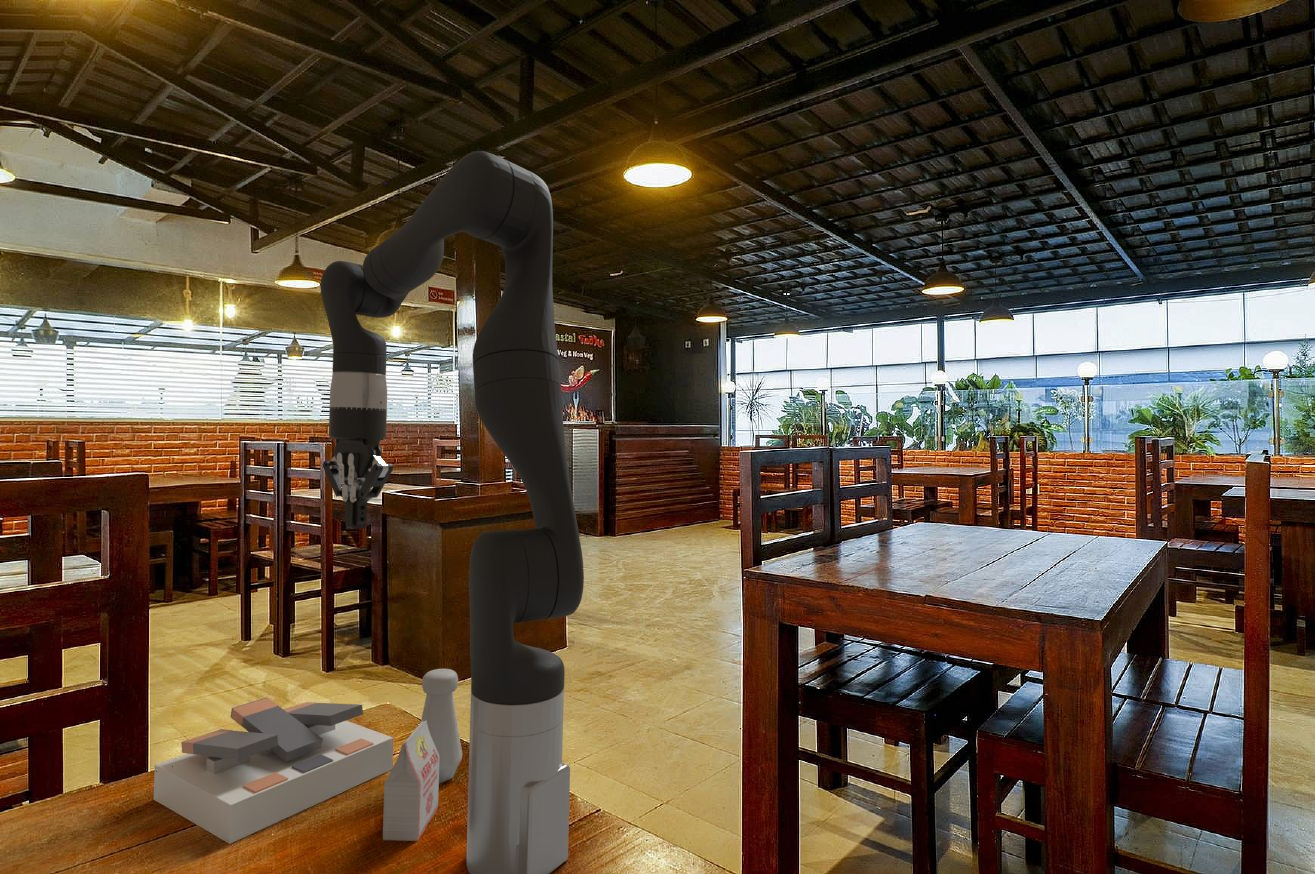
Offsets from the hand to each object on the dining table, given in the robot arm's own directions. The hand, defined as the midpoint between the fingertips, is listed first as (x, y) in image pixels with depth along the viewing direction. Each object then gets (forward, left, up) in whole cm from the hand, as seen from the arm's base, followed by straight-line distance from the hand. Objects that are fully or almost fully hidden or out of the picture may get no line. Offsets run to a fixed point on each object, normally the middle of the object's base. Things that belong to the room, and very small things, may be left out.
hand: (355, 528), depth 101 cm
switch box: (-6, +14, -29) cm, 33 cm away
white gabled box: (-26, +11, -29) cm, 41 cm away
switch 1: (-5, +19, -22) cm, 30 cm away
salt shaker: (-20, +2, -29) cm, 35 cm away
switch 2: (-5, +14, -22) cm, 27 cm away
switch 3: (-5, +8, -22) cm, 25 cm away
